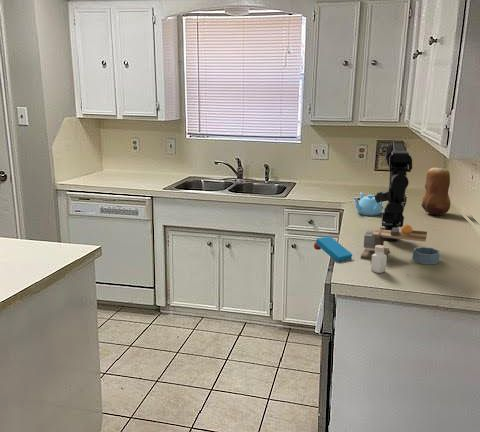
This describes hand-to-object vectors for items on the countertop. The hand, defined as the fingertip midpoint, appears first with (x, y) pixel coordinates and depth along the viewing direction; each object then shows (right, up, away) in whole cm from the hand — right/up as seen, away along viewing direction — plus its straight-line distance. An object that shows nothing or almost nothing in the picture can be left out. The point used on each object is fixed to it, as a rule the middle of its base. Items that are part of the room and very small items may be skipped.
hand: (395, 223), depth 191 cm
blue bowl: (+10, -14, -4) cm, 18 cm away
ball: (+3, -2, -4) cm, 5 cm away
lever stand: (-7, -12, +3) cm, 15 cm away
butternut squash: (+42, +4, +66) cm, 78 cm away
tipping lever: (0, -10, 0) cm, 10 cm away
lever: (-25, -13, +5) cm, 28 cm away
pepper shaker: (-11, -17, -15) cm, 25 cm away
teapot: (+7, +4, +70) cm, 70 cm away
